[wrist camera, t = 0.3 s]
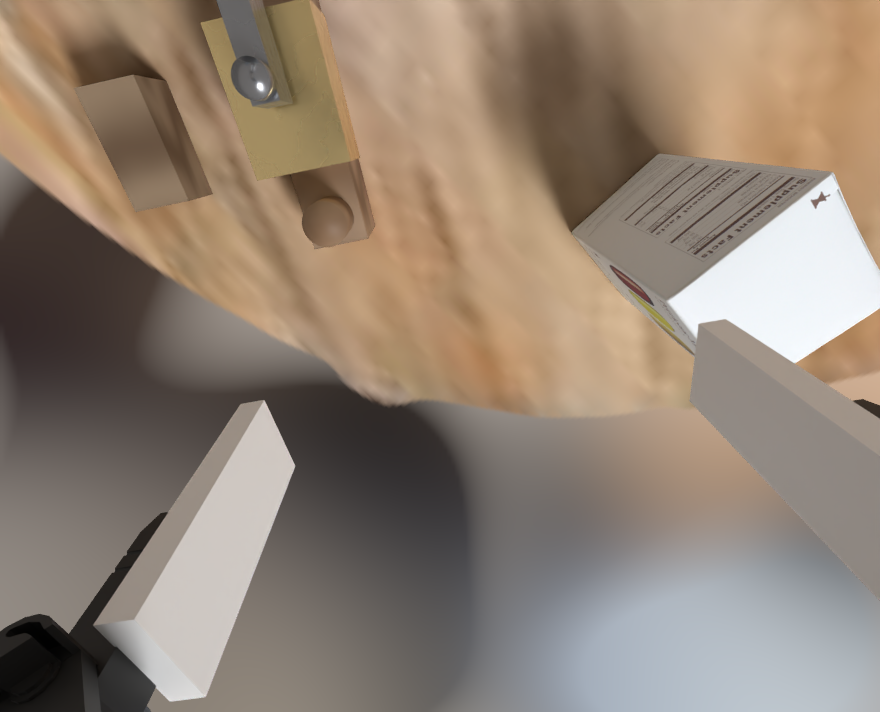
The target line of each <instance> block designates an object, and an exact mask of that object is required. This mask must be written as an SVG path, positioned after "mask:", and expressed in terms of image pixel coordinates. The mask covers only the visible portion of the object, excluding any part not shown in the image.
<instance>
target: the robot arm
mask: <svg viewBox="0 0 880 712" xmlns="http://www.w3.org/2000/svg"><path fill="white" fill-rule="evenodd" d="M690 402H691V403H692V404H693V405H694V406H695V407H696V408H697V409H698V410H699V412H701V414H702V415H703V416H704V417H705V418H706V419H707V420H708V421H709V422H710V423H711V424H712V425H713V426H714V427H715V428H716V429H717V430H718V431H719V432H720V433H721V435H722V436H723V437H724V438H725V439H726V440H727V441H728V442H729V443H730V444H731V445H732V446H733V447H734V448H735V449H736V450H737V451H738V452H739V454H741V456H742V457H743V458H744V459H745V460H746V461H747V462H748V463H749V464H750V465H751V466H752V467H753V468H754V469H755V470H756V471H757V472H758V473H759V474H760V475H761V477H763V479H764V480H765V481H766V482H767V483H768V484H769V485H770V486H771V487H772V488H773V489H774V490H775V491H776V492H777V493H778V494H779V495H780V497H781V498H782V499H784V501H785V502H786V503H787V504H788V505H789V506H790V507H791V508H792V509H793V510H794V511H795V512H796V513H797V514H798V515H799V517H800V518H801V519H802V520H803V521H804V522H805V523H806V524H807V525H808V526H809V527H810V528H811V529H812V530H813V531H814V532H815V533H816V534H817V535H818V536H819V537H820V539H822V540H823V542H824V543H825V544H826V545H827V546H828V547H829V548H830V549H831V550H832V551H833V552H834V553H835V554H836V555H837V556H838V557H839V559H840V560H841V561H842V562H843V563H844V564H845V565H846V566H847V567H848V568H849V569H850V570H851V571H852V572H853V573H854V574H855V575H856V576H857V577H858V578H859V580H860V581H861V582H862V583H863V584H864V585H865V586H866V587H867V588H868V589H869V590H870V591H871V592H872V593H873V594H874V595H875V596H876V597H877V598H878V599H879V600H880V406H879V405H877V404H874V403H871V402H869V401H866V400H864V399H861V400H855V401H852V400H850V399H848V398H847V397H845V396H844V395H842V394H841V393H839V392H837V391H836V390H835V389H833V388H831V387H830V386H828V385H827V384H825V383H824V382H822V381H821V380H819V379H818V378H816V377H815V376H813V375H811V374H810V373H808V372H807V371H805V370H804V369H802V368H801V367H799V366H798V365H796V364H795V363H793V362H791V361H790V360H788V359H787V358H785V357H784V356H782V355H781V354H779V353H778V352H776V351H774V350H773V349H771V348H770V347H768V346H767V345H765V344H764V343H762V342H761V341H759V340H757V339H756V338H754V337H753V336H751V335H750V334H748V333H747V332H745V331H744V330H742V329H740V328H739V327H737V326H736V325H734V324H733V323H731V322H730V321H728V320H727V319H723V320H717V321H711V322H706V323H700V324H698V333H697V341H696V350H695V359H694V367H693V376H692V385H691V394H690ZM294 467H295V465H294V463H293V461H292V458H291V456H290V454H289V452H288V450H287V448H286V446H285V444H284V441H283V439H282V437H281V435H280V433H279V430H278V428H277V427H276V424H275V422H274V420H273V418H272V416H271V413H270V411H269V409H268V407H267V405H266V403H265V401H264V400H263V401H256V402H250V403H245V404H241V405H240V406H239V408H238V409H237V411H236V412H235V414H234V415H233V416H232V418H231V419H230V421H229V422H228V424H227V425H226V427H225V429H224V430H223V432H222V433H221V435H220V436H219V437H218V439H217V440H216V442H215V444H214V445H213V446H212V448H211V449H210V451H209V452H208V454H207V455H206V457H205V458H204V460H203V461H202V463H201V464H200V466H199V467H198V469H197V471H196V472H195V473H194V475H193V476H192V478H191V479H190V481H189V482H188V484H187V485H186V487H185V488H184V490H183V491H182V493H181V494H180V496H179V497H178V499H177V500H176V502H175V503H174V505H173V506H172V508H171V509H170V511H169V512H165V513H161V514H160V515H159V516H157V517H156V518H155V519H154V520H153V521H152V522H151V523H150V524H149V525H148V526H147V527H146V528H144V530H142V531H141V532H140V534H139V535H138V537H137V538H136V539H135V541H134V542H133V544H132V545H131V547H130V548H129V549H128V551H127V555H126V556H124V557H123V558H122V559H121V561H120V562H119V564H118V565H117V566H116V568H115V572H114V573H112V574H111V575H110V576H109V578H108V579H107V581H106V582H105V583H104V585H103V586H102V588H101V589H100V591H99V592H98V593H97V595H96V596H95V598H94V599H93V601H92V602H91V604H90V605H89V606H88V608H87V609H86V610H85V612H84V613H83V615H82V616H81V618H80V619H79V620H78V622H77V624H76V625H75V626H74V628H73V629H72V630H71V632H70V633H69V634H68V633H67V632H66V631H65V630H64V629H63V628H61V627H60V626H59V625H58V624H57V623H56V622H55V621H54V620H53V619H52V618H50V617H49V616H46V615H42V614H37V615H33V616H30V617H25V618H23V619H21V620H19V621H17V622H15V623H13V624H11V625H9V626H7V627H6V628H4V629H3V630H2V631H0V712H151V711H150V709H149V708H148V707H147V704H148V702H149V700H150V698H151V696H152V694H153V692H154V689H155V687H156V688H157V689H158V690H159V691H160V692H161V693H162V694H163V695H164V696H165V697H166V698H167V699H168V700H169V701H170V702H171V701H178V700H187V699H194V698H202V697H206V695H207V692H208V690H209V687H210V685H211V682H212V680H213V677H214V674H215V672H216V669H217V666H218V664H219V661H220V659H221V656H222V653H223V651H224V649H225V646H226V643H227V641H228V638H229V636H230V633H231V630H232V628H233V625H234V623H235V620H236V618H237V615H238V612H239V610H240V607H241V605H242V602H243V599H244V597H245V594H246V592H247V589H248V586H249V584H250V581H251V579H252V576H253V573H254V571H255V568H256V566H257V563H258V561H259V558H260V556H261V553H262V550H263V547H264V545H265V543H266V540H267V537H268V535H269V532H270V530H271V527H272V525H273V522H274V519H275V517H276V514H277V512H278V509H279V506H280V504H281V501H282V498H283V496H284V493H285V491H286V488H287V486H288V483H289V480H290V478H291V475H292V473H293V470H294Z"/></svg>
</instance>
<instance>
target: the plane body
mask: <svg viewBox="0 0 880 712" xmlns="http://www.w3.org/2000/svg"><path fill="white" fill-rule="evenodd" d="M262 1H263V4H264V7H269V6H273V5H277V4H281V3H286V2H290V1H294V0H262ZM311 1H312V2H313V3H314V4H315V5H316V7H317V8H318V9H319V10H320V11H321V8H320V4H319V0H311ZM290 175H291V178H292V181H293V184H294V187H295V190H296V193H297V196H298V200H299V203H300V206H301V209H302V212H303V217H302V226H303V230H304V232H305V234H306V236H307V237H308V238H309V239H310V240H311V241H312V243H313V246H314V249H318V248H323V247H333V246H336V245H339V244H344V243H349V242H354V241H359V240H364V239H368V238H369V236H370V234H371V233H372V231H373V229H374V227H375V223H374V219H373V215H372V211H371V207H370V203H369V199H368V195H367V191H366V187H365V183H364V179H363V175H362V171H361V167H360V163H359V159H355V160H353V161H349V162H344V163H340V164H335V165H330V166H325V167H320V168H316V169H311V170H306V171H301V172H297V173H292V174H290Z"/></svg>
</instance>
